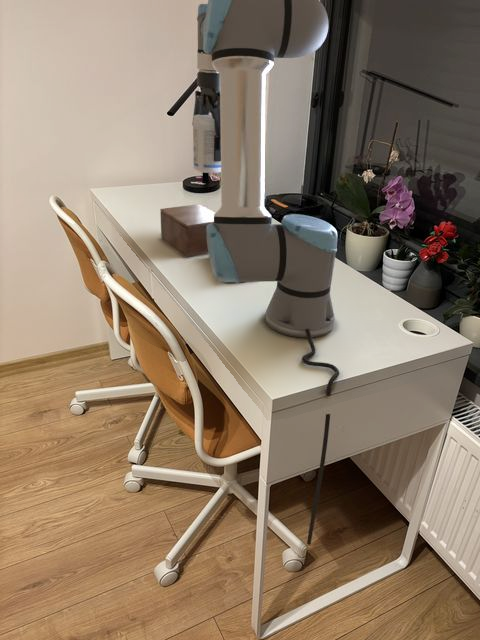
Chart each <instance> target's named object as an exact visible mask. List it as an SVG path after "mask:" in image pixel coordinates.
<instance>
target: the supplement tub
mask: <svg viewBox="0 0 480 640" xmlns="http://www.w3.org/2000/svg"><path fill="white" fill-rule="evenodd" d="M193 115H194V114H193ZM192 123H193V125H192V136H193V137H192V139H193V142H192V144H193V145H192V147H193V148H192V149H193V151H192V152H193V169H194V170H195V171H197V172H201V173H204V174H205V173H206V174H219V173H221V161H219V162H215V161H214V136H215V135H216V132H215V124H214V119H213V118H212V114H211V113H209V115H194V119H193V118H192Z"/></svg>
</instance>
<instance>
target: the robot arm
mask: <svg viewBox="0 0 480 640" xmlns="http://www.w3.org/2000/svg"><path fill="white" fill-rule="evenodd" d="M196 21H197V55H196V57H197V58H196V69H197V70H198V72H197V73H196V83H197V84H196V85H197V87H199V88H201V90H195V92H194V96H195V97H194V107H193V115H192V120H193V119H194V115H209V114H212V118H213V119H214V124H215V132H216V135H215V136H214V161H215V162H219V161H221V172H220V197H221V200H220V203H221V204H220V205H221V206H220V207H219V208H218V210H216V212H214V213H215V214H214V224H213V223H211V224H209V225H207V227H206V232H207V246H208V253H209V254H208V257H209V262H210V268H211V270H212V274H213V276H214V278H215V279H216V280H217V281H218V282H222V283H230V282H236V283H235V284H240V283H239V282H241V283H253V282H254V283H256V282H257V283H258V282H259V283H261V282H276V287H275V290H274V292H273V294H272V297H271V299H270V301H269V304H268V305H267V308H266V311H265V322H266V324H267V326H269V328H271V329H272V330H274V331H276V332H277V333H279V334H282V335H285V336H289V337H293V338H302V339H307V341H308V344H309V347H310V349H311V351H310V352H308V353H306V354H304V355H303V356H302V358H301V361H302V362H303V363H304V364H306V365H308V366H311V367H319V368H320V367H321V368H328V369H331V370H332V371H333V372H334V374H333V375H332V376H331V377H330V378H329V380H328V381H327V385H326V391H325V395H326V396H327V397H330V396H331V394H332V386H333V384H334V382H335V381H336V380H337V378H338V377H339V375H340V370H339V368H338V367H336V366H335V365H334V364H332V363H328V362H319V361H311V360H309V358H311V357H314V356H315V354H316V351H317V350H316V349H317V348H316V345H315V343H314V341H313V338H318V337H321V336H325V335H326V334H329V333H330V332H331V331H332V330H333V328H334V325H335V313H334V307H333V301H332V298H331V297H332V296H331V288H332V287H331V286H332V281H333V273H334V269H335V268H334V267H335V261H336V254H337V251H338V248H337V247H338V231H337V229H336V228H335V227H334V226H333V225H332V224H330V223H329V222H328V221H325V220H323V219H320V218H318V217H314V216H310V215H305V214H300V213H299V214H297V213H290V214H286V215H284V216H283V217H282V220H281V223H280V224H274V223H273V221H272V213H270V211H269V210H267V208H266V207H265V174H266V173H265V167H266V166H265V165H266V164H265V163H266V160H265V158H266V156H265V155H266V151H265V150H266V77H267V75H268V74H269V73H270V71H272V69H273V68H274V65H275V63H274V62H275V59H296V58H300V57H305V56H309V55H311V54H312V53H315V52H316V51H317V50H318V49H320V48H321V47H322V45H323V43H324V42H325V40H326V38H327V35H328V32H329V25H330V24H329V17H328V13H327V11H326V8H325V5H324V4H323V3H322V2H321V0H207V3H200V4H198V7H197V17H196ZM191 124H192V126H193V122H192V123H191ZM330 421H331V413H325V421H324V431H323V440H322V447H321V456H320V461H319V462H320V463H319V468H318V474H317V475H318V476H317V481H316V488H315V492H314V493H315V494H314V499H313V505H312V509H311V510H312V511H311V515H310V522H309V528H308V533H307V534H308V535H307V540H306V544H307V545H308V546H311V545H312V539H313V532H314V526H315V521H316V516H317V511H318V505H319V498H320V494H321V493H320V492H321V487H322V481H323V476H324V470H325V463H326V455H327V449H328V441H329V433H330V431H329V430H330V424H331V423H330Z"/></svg>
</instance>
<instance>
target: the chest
mask: <svg viewBox="0 0 480 640" xmlns="http://www.w3.org/2000/svg"><path fill="white" fill-rule="evenodd" d="M206 227H207V226H200V227H193V228H186V227H184V226H183V225H181V224H180V223H178V222H176V221H175V220H173V219H172V218H170V217H168V216H167V215H165V214H164V213H162V212H161V211H160V239H161V241H163V242H164V243H165V244H167V245H168V246H169V247H171V248H172V249H173V250H174V251H176V252H177V253H179V254H180V255H181V256H183V257H184V258H193V257H198V256H203V255H209V253H208V246H207V232H206Z"/></svg>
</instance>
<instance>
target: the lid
mask: <svg viewBox="0 0 480 640" xmlns="http://www.w3.org/2000/svg"><path fill="white" fill-rule="evenodd" d="M161 212H162V213H164V214H165V215H167V216H168V217H170V218H172V219H173V220H175V221H176V222H178V223H180V224H181V225H183V226H184V227H186V228H193V227H200V226H207V225H209V224H211V223H213V224H214V214H215V213H216V212H214V211H213V210H211V209H209V208H207V207H206V206H204V205H201V204H200V203H197V204H190V205H189V204H188V205H182V206H174V207H165V208H164V207H163V208H160V213H161Z"/></svg>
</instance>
